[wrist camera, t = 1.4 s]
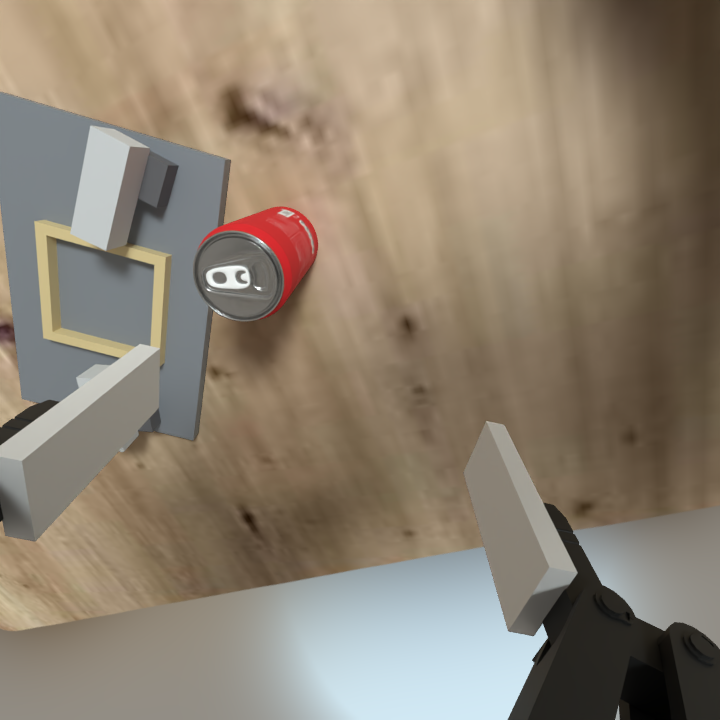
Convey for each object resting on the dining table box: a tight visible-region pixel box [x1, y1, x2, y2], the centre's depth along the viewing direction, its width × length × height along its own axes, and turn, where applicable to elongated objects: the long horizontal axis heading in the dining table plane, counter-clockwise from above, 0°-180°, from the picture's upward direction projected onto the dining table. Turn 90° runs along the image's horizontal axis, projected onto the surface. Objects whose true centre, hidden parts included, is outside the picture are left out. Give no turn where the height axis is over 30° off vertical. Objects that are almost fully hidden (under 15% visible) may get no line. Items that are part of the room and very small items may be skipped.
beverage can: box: [193, 207, 318, 322], centre depth 26 cm, size 5×5×12 cm
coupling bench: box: [0, 92, 231, 452], centre depth 31 cm, size 25×16×5 cm, turn 165°
